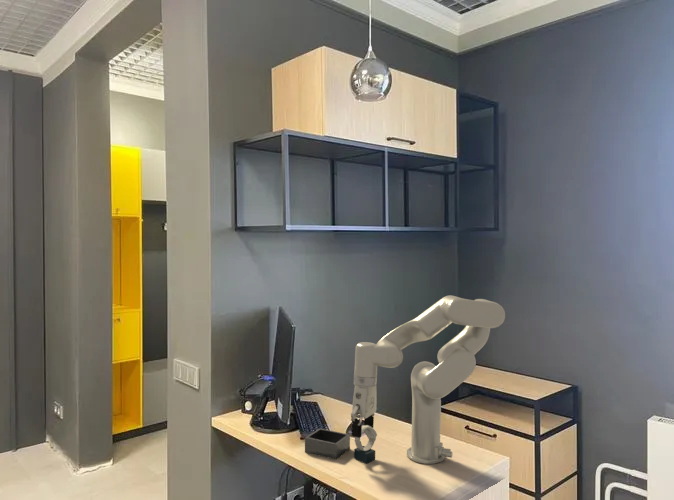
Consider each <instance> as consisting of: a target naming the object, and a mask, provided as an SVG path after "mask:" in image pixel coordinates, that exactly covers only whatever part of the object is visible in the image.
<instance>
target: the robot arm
mask: <svg viewBox="0 0 674 500" xmlns="http://www.w3.org/2000/svg"><path fill="white" fill-rule="evenodd" d="M505 318H506V312H505V309H504V307H503V306H502V305H501V304H499V303H498V302H495V301H491V300H488V299H485V298H475V299H474V300H473V299H467V298H462V297H459V296H455V295H450V294H449V295H446V296H443V297H442V298H440V299H439V300H438V301H436V302H434V303H433V304H432V305H431V306H429V308H427V309H425V310H424V311H423V312H421V313H420V314H419V315H418V316H416V317H415V318H413V319H411V320H409V321H407V322H405V323H403V324H401V325H399V326H398V327H395V328H394V329H393V330H391V331H390V332H388V333H387V334H386V335H384V336H383V337H382V338H381V339H379V340H378V341H377V343H374V342H369V341H368V342H367V341H362V342H358V343H357V344H356V345H355V351H354V371H353V372H354V373H353V385H354V388H353V389H354V390H353V397H352V406H351V407H352V410H351V411H352V412H351V413H350V418H351V420H350V421H351V436H352V437H354V438H355V437H359V438H360V439H361V437H362V434H361V431H362V425H365V426H366V425H369V426H371V427H372V428H373V429H374V424H375V422H374V420H375V417H374V416H375V413H376V412H377V410H378V409H377V404H378V403H377V401H378V400H377V397H378V396H377V395H378V394H377V392H378V391H377V383H378V382H377V381H378V380H377V379H378V367H382V368H387V369H390V368H391V369H394V368H397V367H399V366H400V365H401V364H402V363H403V360H404V354H403V349H405V348H406V347H408V346H410V345H412V344H414V343H415V344H416V343H420V342H425V341H429V340H431V339H433V338H434V337H436V336H437V335H438V334H439V333H441V332H442V331H444V330H445V329H446V328H447V327H449V326H450V325H451V324H452V323H453V324H455V325H460V326H464V328H463V329H462V330H461V331H460V332H459V333H458V334H457V335H455V336H454V337H453V338H452V339H450V340H449V341H448V342H447V343H445V344H444V345H443V346H442V347H441V348H440V349H439V350H438V352H437V355H436V356H437V358H436V359H437V362H438V364H437V365H435V364H434V363H432V362H430V361H425V360H423V361H420V362H418V363H417V364H415V365H414V367H413V368H412V370H411V373H410V384H411V398H412V399H411V401H412V402H411V405H412V406H411V447H409V448H407V449H406V456H407V457H408V459H409V460H411V461H413V462H416V463H418V464H419V463H420V464H425V465H426V464H427V465H432V464H434V465H435V464H439V463H441V462H443V461H444V460H445V458H446V457H447V458H450V459H452V458H453V451H452V449H451V448H446V447H444V445H443V442H441V423H442V422H441V421H442V420H441V419H442V418H441V416H442V413H441V412H442V400H441V399H442V398H444V397H446V396H447V395H450V393H451V392H453V391H454V390H455V389H456V388H457V387H459V386H460V385H462V384H463V383H464V382H465V381H466V380H467V379H468V378H469V377H471V375H472V374H473V373H474V371H475V369H476V365H477V363H476V362H477V360H476V356H475V355H477V353H478V352H479V351H481V349H482V348H483V347H484V346H485V345H486V343H487V342H488V340H489V337H490V332H491V329H496V328H499V327H500V326H501V325H502V324H503V323H504V322H505ZM363 419H364V421H363ZM362 421H363V424H362Z"/></svg>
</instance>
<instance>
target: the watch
mask: <svg viewBox="0 0 674 500" xmlns="http://www.w3.org/2000/svg"><path fill="white" fill-rule="evenodd" d="M361 425H362V431H361V435H362V434H363V433H364V434H365V435H366V437H367V439H368V441H367V443H366V445H363V444H362V441H361V437H360V438H359V437H354V443H355V445H356V448H354V449H353V450H354V451H353V453H354V454H353V459H355V460H356V461H359V462H361V463H363V464H366V465H367V464H370V463H371V462H374V461H376V450H375V449H372V448H373V446H374V444H375V442H376V439H377V436H378V433H377V431H376V430H375V428H374V427H373V428H372V427H371V426H369V425H366V426H365V425H364V424H361Z"/></svg>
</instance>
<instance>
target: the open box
mask: <svg viewBox="0 0 674 500" xmlns="http://www.w3.org/2000/svg"><path fill="white" fill-rule="evenodd" d="M350 449H351V434H348V433H345V432H340V431H334V430H330V429H325V428H320V427H319V428H318V429H316V430H315V431H313V432H311V433H309V434H308V435H307V436H306V437H304V453H307V454H311V455H315V456H319V457H324V458H328V459H333V460H338V459H339V458H340V457H341V456H343V455H345V453H346V452H347V451H349V450H350Z"/></svg>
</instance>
